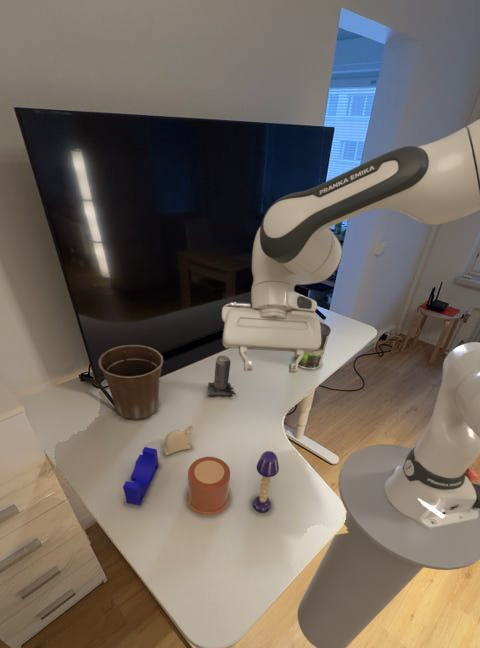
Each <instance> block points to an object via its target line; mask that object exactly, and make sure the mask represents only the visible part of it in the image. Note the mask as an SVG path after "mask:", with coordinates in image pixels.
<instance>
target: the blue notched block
mask: <svg viewBox="0 0 480 648" xmlns="http://www.w3.org/2000/svg"><path fill="white" fill-rule="evenodd" d="M159 466H160V465H159V455H158V449H157V448H152V447H147V446H144V447H143V449H142V453H141V454H139V455H138V457H137V459H136V461H135V464H134V468H133V471H132V473H131V475H130V481H128V480H125V482H124V483H123V486H122V488H123V493H124V497H125V500H126V503H127V504H129V505H134V506H139V507H140V506H141V504H142V502H143V500H144V498H145V495H146V493H147V491H148V489H149V487H150V485H151V483H152V481H153V478H154V477H155V475H156V472H157V470H158V468H159Z"/></svg>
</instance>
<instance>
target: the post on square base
mask: <svg viewBox="0 0 480 648" xmlns="http://www.w3.org/2000/svg"><path fill="white" fill-rule="evenodd" d="M230 371H231V360H230V358H229V357H228V356H226V355H219V356H218V357H217V358H216V359H215V367H214V380H213V382H208V383H207V387H206V388H207V397H210V398H212V397H215V396H221V397H225V396H226V397H228V398H233V396H235V395H236V392H235V391H234V390H235V389H234V387H232V386H231V383H230V382H229V380H230V379H229V378H230Z"/></svg>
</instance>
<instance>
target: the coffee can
mask: <svg viewBox="0 0 480 648" xmlns="http://www.w3.org/2000/svg"><path fill="white" fill-rule="evenodd" d="M320 327H321V346H320V347H319V349H318V350H316V351H315V352H314V353H304V355H303V357H302V359H301V360H300V362H299V363H298V368H302V369H305V370H309V371H310V370H311V371H313V370H317V369H319V368H320V367H321V366H322V361H323V357H324V355H325V351H326V347H327V344H328V340H329V337H330V334H331V331H332V329H331V327H330V326H329V325H327V324H326V323H324V322H322V321H320ZM296 358H297V357H294V356H293V363H294V362H295V360H296Z"/></svg>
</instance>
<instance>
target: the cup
mask: <svg viewBox="0 0 480 648" xmlns="http://www.w3.org/2000/svg"><path fill="white" fill-rule="evenodd" d="M187 475H188V477H187V479H188V481H187V484H188V491H187V495H186V497H187V504H188V505H189V507H190V508H191V510H193V511H194V512H196V513H197V514H200V515H204V516H213V515H216V514H219V513H221V512H222V511H223V510H225V508H226V507H227V506H228V504H229V501H230V492H229V491H230V490H229V489H230V480H231V469H230V467H229V465H228V464H227V462H225V461H224V460H223V459H221V458H218V457H214V456H203V457H200V458H198V459H196V460H194V461H193V462H192V463H191V464H190V466H189V467H188V470H187Z"/></svg>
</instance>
